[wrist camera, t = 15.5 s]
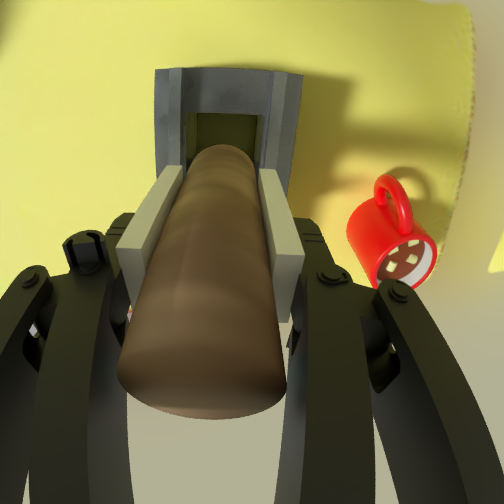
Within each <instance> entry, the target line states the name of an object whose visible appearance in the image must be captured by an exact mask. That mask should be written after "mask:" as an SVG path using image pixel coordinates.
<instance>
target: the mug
mask: <svg viewBox="0 0 504 504" xmlns="http://www.w3.org/2000/svg"><path fill="white" fill-rule="evenodd" d="M387 191H388V192H389V194H390V195H391V197H392V198H390V197H387ZM346 233H347V239H348V241H349V243H350V245H351V247H352V249H353V251H354V252H355V254H356V256H357V258H358V260H359V262H360V264H361V265H362V267H363V269H364V271H365V273H366V275H367V277H368V279H369V281H370V283H371V285H372V287H373V288H374V289H377V288H378V286H379V284H380V283H381V282H382V281H383V280H385V279H389V278H391V279H398V280H400V281H403V282H405V283H406V284H408V285H409V286H411V288H412V289H415V288H416V287H418V286H419V285H420V284H421V283H422V282H423V281H424V280H425V279H426V278H427V277H428V276H429V274H430V273H431V271H432V270H433V268H434V265H435V263H436V259H437V247H436V244H435V242H434V241H433V239H432V238H431V237H430V236H429V235H428V234H427V233H426V231H425V230H424V229H423V228H422V227H421V226H420V225H419V224H418V223H417V221H416V220H415V219H414V218H413V213H412V209H411V205H410V202H409V199H408V196H407V194H406V192H405V190H404V188H403V187H402V185H401V184H400V183H399V181H398V180H397V179H395V178H394V177H393V176H391V175H388V174H383V175H381V176H379V177H378V178H377V180H376V182H375V185H374V198H371V199H369V200H367V201H365V202H363V203H362V204H361V205H360V206H358V207H357V208H356V210H355V211H354V212H353V213H352V215H351V217H350V219H349V221H348V224H347V229H346Z"/></svg>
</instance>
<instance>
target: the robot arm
mask: <svg viewBox="0 0 504 504" xmlns="http://www.w3.org/2000/svg"><path fill="white" fill-rule="evenodd" d="M182 183H183V166H182V165H167V166H166V167H165V169H164V170H163V171H162V173H161V174H160V176H159V177H158V179H157V180H156V182H155V183H154V185H153V186H152V188H151V189H150V191H149V192H148V194H147V196H146V197H145V199H144V200H143V202H142V203H141V205H140V207H139V208H138V210H137V211H136V213H123V214H122V215H120V216H119V217H118V218H116V219H115V220H114V221H113V223H112V224H111V226H110V229H108V230H107V232H106V233H105V235H103V234H102V232H99V231H97V230H86V231H81V232H78V233H76V234H74V235H72V236H70V237H69V238H68V239H66V241H65V242H64V243H63V244H62V246H63V249H64V252H65V255H66V258H67V261H68V264H69V267H70V270H69V273H67V274H63V275H58V276H52V277H50V276H49V273H48V271H47V269H46V268H45V267H44V266H41V265H34V266H31V267H28V268H26V269H25V270H23V271H22V272H21V273H20V274H19V275H18V276H17V277H16V278H15V279H14V281H13V282H12V283H11V285H10V286H9V288H8V289H7V290H6V292H5V293H4V295H3V296H2V297H1V299H0V504H22V502H23V495H24V490H25V484H26V478H27V475H28V470H29V496H30V497H29V498H30V504H134V498H133V491H132V483H131V474H130V463H129V450H128V432H127V391H126V390H125V389H124V388H123V387H122V385H121V384H120V383H119V381H118V379H117V375H116V369H117V365H118V361H119V357H120V354H121V350H122V346H123V343H124V339H125V336H126V333H127V329H128V326H129V320H128V317H127V313H128V310H129V307H130V305H131V308H132V311H133V310H134V307H135V304H136V301H137V298H138V295H139V292H140V289H141V286H142V283H143V280H144V277H145V275H146V272H147V269H148V266H149V264H150V261H151V258H152V255H153V253H154V250H155V248H156V245H157V242H158V240H159V237H160V235H161V232H162V230H163V227H164V225H165V223H166V220H167V218H168V215H169V213H170V211H171V208H172V206H173V204H174V201H175V199H176V197H177V194H178V192H179V190H180V188H181V185H182ZM257 187H258V193H259V200H260V206H261V212H262V218H263V225H264V231H265V237H266V244H267V250H268V257H269V263H270V270H271V276H272V283H273V290H274V297H275V303H276V310H277V317H278V323H287V322H288V320H289V317H290V313H291V315H292V320H293V325H292V329H291V332H290V335H289V338H288V342H287V345H286V347H288V348H289V359H288V375H287V390H286V399H285V400H286V401H285V412H284V422H283V423H284V424H283V433H282V443H281V452H280V461H279V469H278V478H277V486H276V494H275V501H274V504H375V445H374V427H373V417H374V419H375V423H376V426H377V429H378V432H379V435H380V438H381V441H382V444H383V448H384V451H385V454H386V458H387V461H388V465H389V468H390V471H391V475H392V479H393V482H394V486H395V489H396V493H397V497H398V501H399V504H504V474H503V470H502V467H501V464H500V461H499V458H498V455H497V452H496V449H495V446H494V443H493V440H492V438H491V435H490V432H489V430H488V427H487V425H486V422H485V420H484V417H483V415H482V413H481V411H480V408H479V406H478V404H477V401H476V399H475V397H474V395H473V393H472V390H471V388H470V386H469V384H468V382H467V380H466V378H465V376H464V374H463V372H462V370H461V368H460V366H459V364H458V363H457V361H456V359H455V357H454V355H453V354H452V351H451V350H450V348H449V346H448V345H447V342H446V341H445V339H444V337H443V335H442V334H441V332H440V331H439V329H438V327H437V325H436V324H435V322H434V320H433V319H432V317H431V316H430V314H429V312H428V311H427V309H426V308H425V306H424V304H423V303H422V301H421V300H420V298H419V297H418V295H417V294H416V292H415V291H414V290H413V289H412V288H411V286H409V285H408V284H406V283H405V282H403V281H400V280H398V279H391V278H389V279H385V280H383V281H382V282H381V283H380V284H379V286H378V288H377V289H374V288H370V287H366V286H362V285H359V284H356V283H353V280H352V278H351V276H350V274H349V273H348V272H347V271H346V270H345V269H344V268H342V267H340V266H338V265H336V264H335V262H334V260H333V258H332V256H331V253H330V251H329V249H328V246H327V244H326V243H325V240H324V237H323V236H322V233H321V231H320V229H319V227H318V225H316V224H315V223H314V222H313V221H312V220H311V219H305V218H293V217H292V214H291V211H290V208H289V205H288V203H287V200H286V197H285V194H284V191H283V189H282V186H281V183H280V180H279V177H278V175H277V172H276V170H275V169H262V168H259V176H258V186H257ZM32 324H34V326H35V328H36V329H37V333H36V334H35V335H34V336H32V335H31V333H30V332H29V329H30V328H31V326H32ZM392 344H393V346H394V348H395V350H396V351H395V350H394V349H393V347H392Z"/></svg>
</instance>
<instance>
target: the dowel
mask: <svg viewBox="0 0 504 504" xmlns="http://www.w3.org/2000/svg"><path fill="white" fill-rule="evenodd" d="M116 375H117V379H118V381H119V383H120V384H121V385H122V387H123V388H124V389H125V390H126V391H127V392H128V393H129V394H130V395H132V396H133V397H134V398H136V399H137V400H139V401H141V402H142V403H144V404H146V405H148V406H150V407H153V408H155V409H158V410H160V411H163V412H166V413H170V414H173V415H178V416H183V417H188V418H195V419H211V420H218V419H232V418H240V417H245V416H249V415H253V414H256V413H259V412H262V411H264V410H266V409H268V408H270V407H272V406H274V405H275V404H276V403H278V402H279V401H280V400H281V399H282V398H283V396H284V395H285V393H286V390H287V382H286V375H285V367H284V361H283V353H282V345H281V339H280V331H279V324H278V317H277V310H276V303H275V297H274V290H273V283H272V276H271V270H270V263H269V257H268V250H267V244H266V237H265V231H264V225H263V218H262V212H261V206H260V200H259V193H258V187H257V181H256V175H255V169H254V165H253V163H252V161H251V159H250V158H249V157H248V155H247V154H246V153H245V152H243V151H242V150H241V149H239V148H237V147H234V146H231V145H226V144H218V145H213V146H210V147H208V148H206V149H204V150H202V151H201V152H200V153H199V154H198V155H197V156H196V157H195V158H194V160H193V162H192V164H191V166H190V168H189V170H188V172H187V175H186V177H185V179H184V181H183V183H182V185H181V188H180V190H179V192H178V194H177V197H176V199H175V201H174V204H173V206H172V208H171V211H170V213H169V215H168V218H167V220H166V223H165V225H164V227H163V230H162V232H161V235H160V237H159V240H158V242H157V245H156V248H155V250H154V253H153V255H152V258H151V261H150V264H149V266H148V269H147V272H146V275H145V277H144V280H143V283H142V286H141V289H140V292H139V295H138V298H137V301H136V304H135V307H134V310H133V313H132V316H131V319H130V323H129V326H128V329H127V333H126V336H125V339H124V343H123V346H122V350H121V354H120V357H119V361H118V365H117V369H116Z"/></svg>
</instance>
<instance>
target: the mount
mask: <svg viewBox="0 0 504 504" xmlns="http://www.w3.org/2000/svg"><path fill="white" fill-rule="evenodd" d="M302 81H303V75H298V74H292V73H287V72H280V71H266V70H255V69H240V68H207V67H204V68H169V69H156V70H155V89H154V126H155V158H156V176H157V179H158V177H159V176H160V174H161V173H162V171H163V170H164V169H165V167H166V166H167V165H182V166H183V181H184V179H185V177H186V175H187V172H188V170H189V168H190V166H191V164H192V162H193V160H194V158H195V157H196V141H197V113H231V114H249V115H258V117H257V128H256V139H255V149H254V160H253V161H252V163H253V165H254V169H255V175H256V181H257V186H258V176H259V168H262V169H275V170H276V172H277V175H278V177H279V180H280V183H281V186H282V189H283V191H284V194H285V197H287V190H288V184H289V177H290V170H291V163H292V156H293V149H294V142H295V135H296V128H297V120H298V113H299V105H300V97H301V90H302Z"/></svg>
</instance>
